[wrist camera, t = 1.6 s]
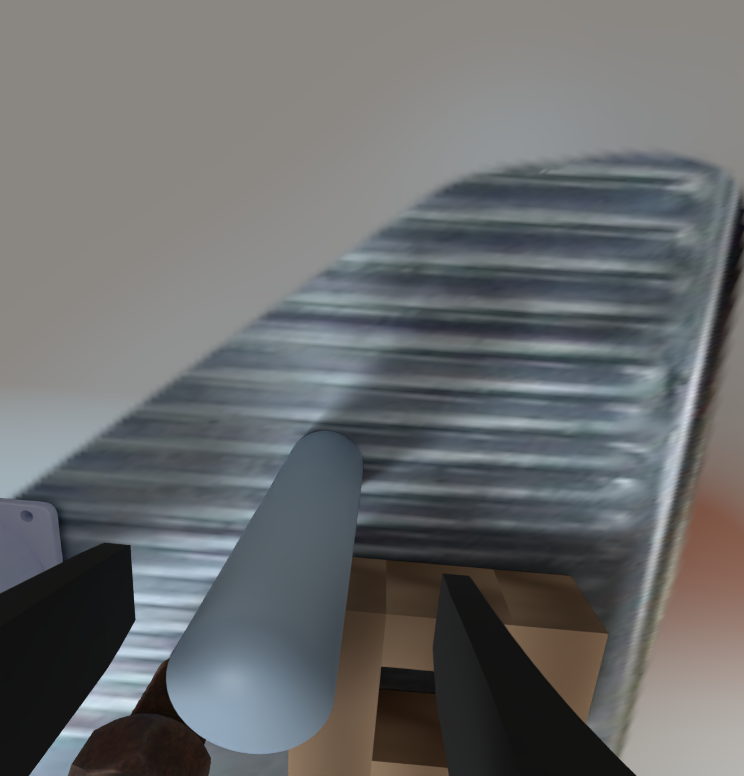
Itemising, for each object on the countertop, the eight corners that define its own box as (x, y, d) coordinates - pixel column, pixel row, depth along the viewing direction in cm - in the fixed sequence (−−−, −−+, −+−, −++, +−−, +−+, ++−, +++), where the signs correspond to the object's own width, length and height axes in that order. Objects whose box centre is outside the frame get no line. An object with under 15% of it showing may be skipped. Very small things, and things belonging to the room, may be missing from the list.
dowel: (287, 497, 17) (169, 745, 8) (289, 427, 16) (162, 608, 7) (360, 503, 17) (330, 761, 8) (365, 434, 16) (339, 624, 7)
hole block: (301, 720, 20) (286, 795, 17) (309, 553, 17) (294, 605, 15) (535, 742, 19) (561, 821, 16) (570, 575, 17) (608, 633, 14)
